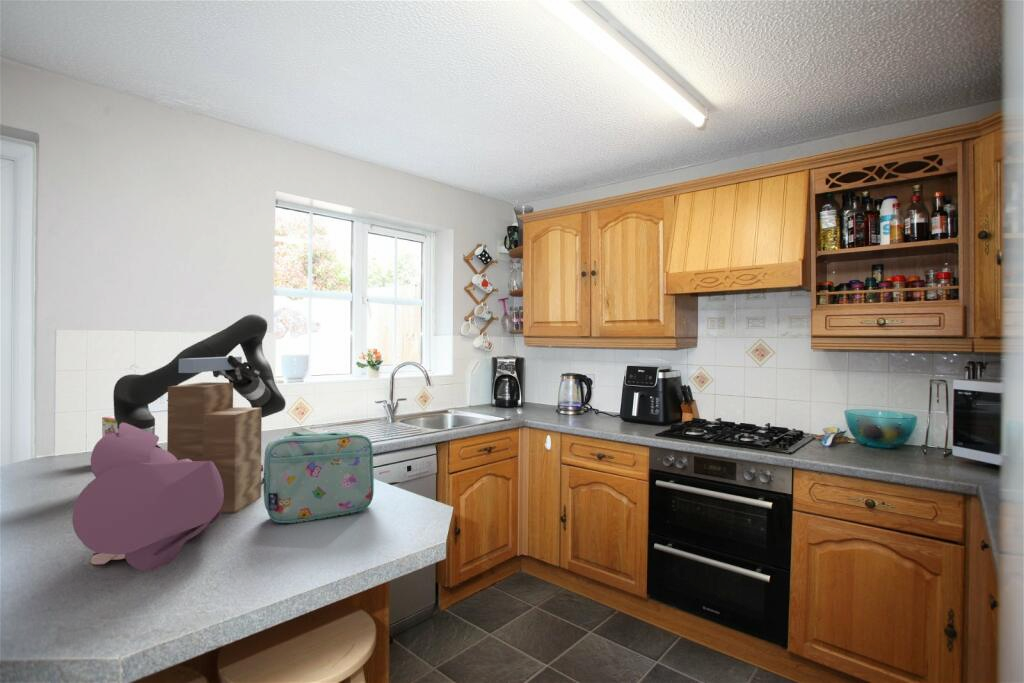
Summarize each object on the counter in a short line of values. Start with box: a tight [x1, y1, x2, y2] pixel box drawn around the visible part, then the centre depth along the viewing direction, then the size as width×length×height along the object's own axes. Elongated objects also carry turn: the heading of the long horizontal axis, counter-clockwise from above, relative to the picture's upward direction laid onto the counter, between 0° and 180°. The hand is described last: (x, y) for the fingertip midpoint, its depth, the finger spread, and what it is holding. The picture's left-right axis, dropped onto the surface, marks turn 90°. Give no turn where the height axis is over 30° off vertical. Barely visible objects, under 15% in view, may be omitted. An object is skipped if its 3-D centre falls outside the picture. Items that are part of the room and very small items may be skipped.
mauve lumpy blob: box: [71, 423, 224, 572], centre depth 106 cm, size 36×24×29 cm
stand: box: [166, 381, 263, 514], centre depth 136 cm, size 14×17×32 cm
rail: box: [179, 356, 243, 373], centre depth 140 cm, size 24×4×4 cm, turn 1°
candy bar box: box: [101, 415, 117, 438], centre depth 179 cm, size 11×5×16 cm, turn 65°
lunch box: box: [259, 430, 375, 524], centre depth 128 cm, size 27×10×21 cm, turn 117°
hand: (222, 358), depth 145 cm, fingers closed on rail, 3 cm apart
